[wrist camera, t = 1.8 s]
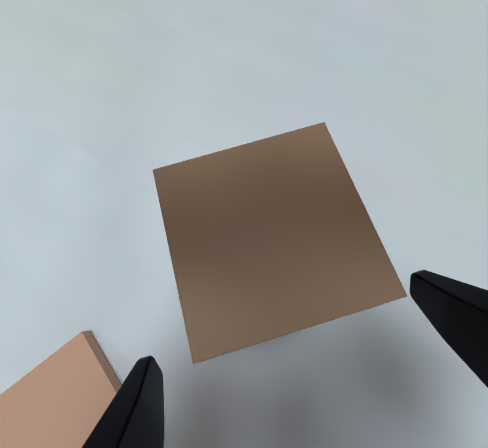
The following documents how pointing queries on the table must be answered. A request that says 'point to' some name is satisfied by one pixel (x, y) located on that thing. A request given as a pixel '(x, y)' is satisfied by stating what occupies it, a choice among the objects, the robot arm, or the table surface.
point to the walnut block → (270, 241)
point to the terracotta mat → (59, 398)
